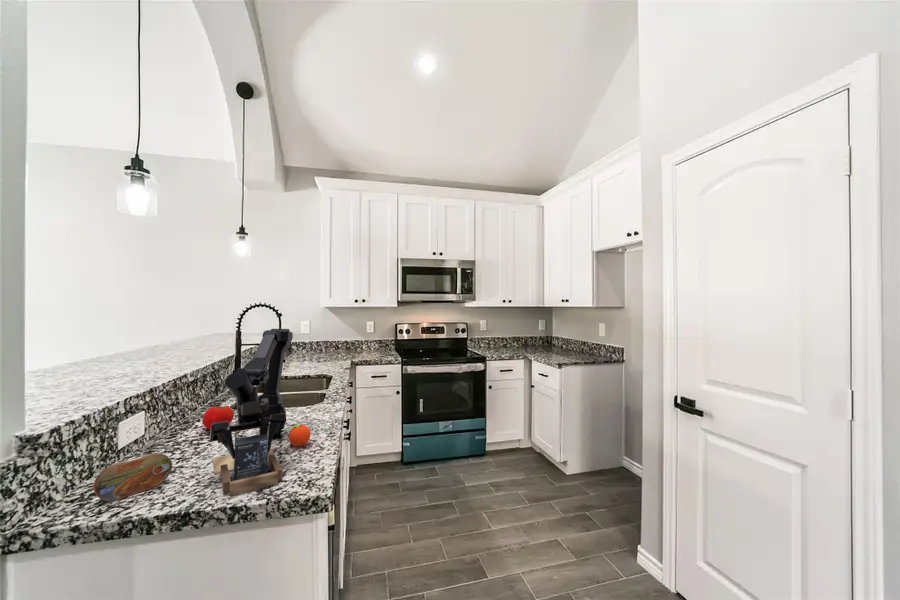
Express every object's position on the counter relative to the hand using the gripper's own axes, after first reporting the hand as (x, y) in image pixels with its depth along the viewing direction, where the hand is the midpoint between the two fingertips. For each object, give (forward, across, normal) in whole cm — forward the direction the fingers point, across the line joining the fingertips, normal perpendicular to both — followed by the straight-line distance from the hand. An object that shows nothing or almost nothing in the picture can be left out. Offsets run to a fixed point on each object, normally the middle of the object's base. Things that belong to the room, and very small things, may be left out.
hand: (251, 454), depth 98 cm
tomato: (-32, -5, +41) cm, 52 cm away
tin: (-1, -25, +11) cm, 27 cm away
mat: (-6, 0, +15) cm, 16 cm away
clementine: (-7, +16, +17) cm, 25 cm away
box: (+4, 0, +6) cm, 7 cm away
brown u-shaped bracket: (+4, 0, +5) cm, 7 cm away
